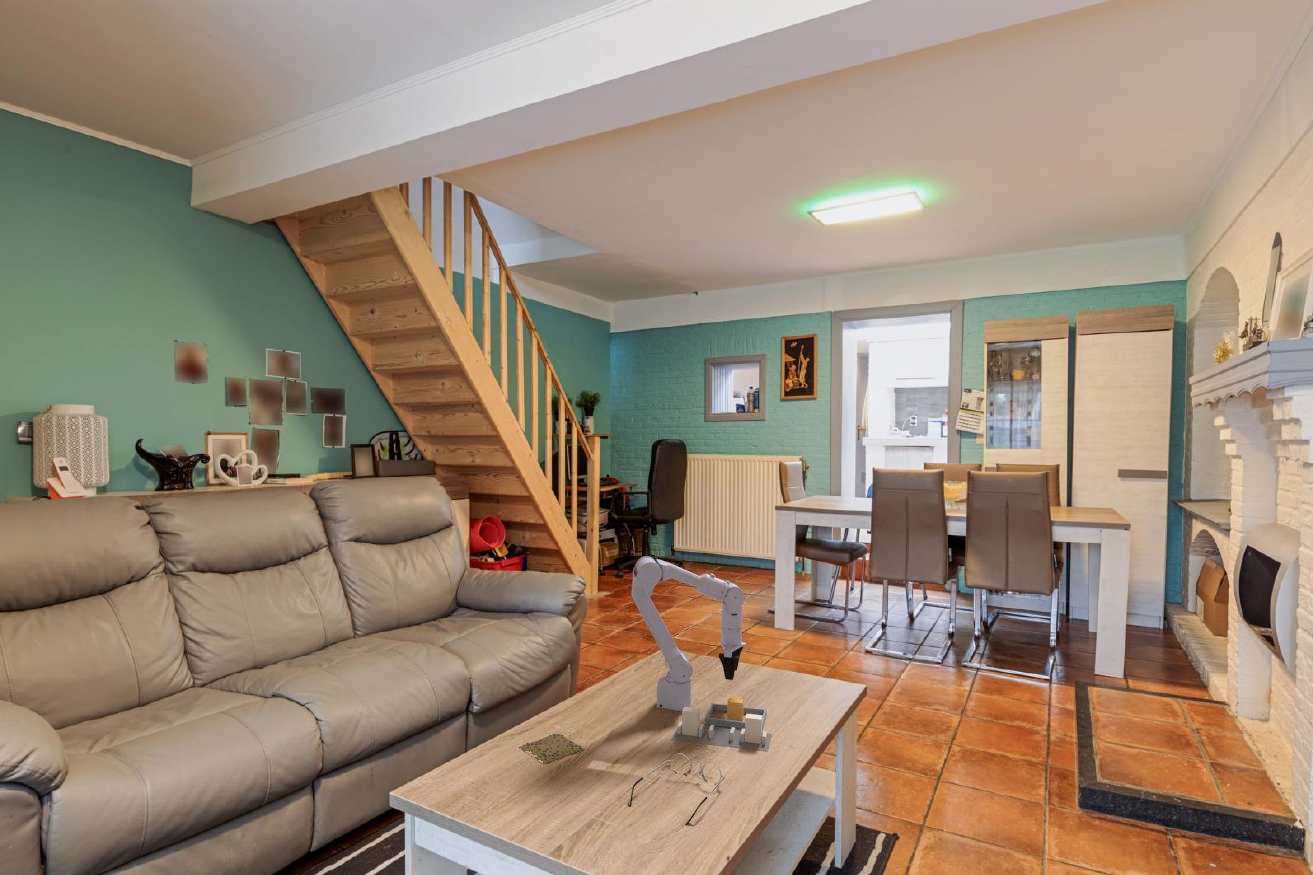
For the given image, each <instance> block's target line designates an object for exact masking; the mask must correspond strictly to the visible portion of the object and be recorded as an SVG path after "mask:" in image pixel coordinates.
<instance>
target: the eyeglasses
mask: <svg viewBox="0 0 1313 875" xmlns="http://www.w3.org/2000/svg"><path fill="white" fill-rule="evenodd" d="M676 755H681V756H684V757H685V758H686V759H687V760H688V763H689V766H688V767H689V768H688V771H687V773H685V774H683V776H685V777H686V776H687V777H688V775H690V772H692V769H693V766H694V762H695V763H696V762H697V763H699V766H700V767H699V768H700V769H699V770H698V773H699V775H700V776H701V777H702V779H703V781H704V782H705V783H709V781H708V780H707V779H706V777H705V775H704V767H705V765H707V764H708V763H711V764H713V765H715V766H716V767H717V768H718V770H719V776H720V777H719V780H718V781H717V782H716V783H714V784H713V785H714V788H713V789H711V791H710V792H709V794H708V795H707V796H705V797H704V799H703V800H702V801H701V802H700V803H699V805H698V806H697V807H696V809H695V811H694V812H693V814H692V815H691V816H690V818H689V819H688V820H687V821H686V823H685V824H684V825H685V826H686V825H689V824H690V822H691V820H692V819H694V818H693V817H694V816H695V814H696V813H697V812H698V810H699V808H700V807H701V806H702V805H703V804H704V803H705V802H706V801H707V800H708V798H709V796H710V795H711V794H712V793H713V792H714V791H715V790H716V789H717V787H719V785H720V784H721V783H722V781H724V780H725V778H726V776H725V775H723V774H722V771H721V768H720V767H719V765H718V764H717V763H715V762H714V761H706V762H705V763H704V764H703V765H702V764H701V761H700V760H694V761H693V760H692V761H691V762H690V759H689V758H688V756H687V755H685V754H684V753H680V752H679V753H678V752H677V753H675V754H674V755H673V756H672V757H671V758H670V759H667V760H665V761H664V762H662V763H661V764H660V765H658V766H657V767H655V768H654V769H653V770H651V771H650V772H648V773H647V774H646V775H645V776H642V777H640V778H639V779H638V780H636V781H635V782H634V784H633V786H632V790H631V794H630V802H629V807H632V806H633V805H632V804H633V796H634V789H635V787H636V786H637V785H638V783H640V782H641V781H643V780H644V778H646V777H647V776H649V775H651V774H652V773H654V772H655V771H657V770H659V769H660V768H662V767H663V766H664V765H666V764H667V763H670V766H672V765H673V759H674V757H676ZM673 772H674V774H675V775H677V774H678V772H676V770H673Z"/></svg>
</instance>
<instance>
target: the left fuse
mask: <svg viewBox="0 0 1313 875" xmlns="http://www.w3.org/2000/svg"><path fill="white" fill-rule="evenodd" d="M700 712H701V711H700V708H698V707H692V706H691V707H684V708H683V710H681V721H682V734H684V735H692V736H698V730H699V727H700V725H701V723H700V721H701V720H700V718H701V717H700V716H701V713H700Z"/></svg>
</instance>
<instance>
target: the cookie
mask: <svg viewBox="0 0 1313 875" xmlns="http://www.w3.org/2000/svg"><path fill="white" fill-rule="evenodd" d="M520 748H521V749H522V750H521V749H520ZM518 749H520V750H521V751H523V752H524V751H529V752H530V751H531V752H532V753H530V754H533V755H537V757H535V758H536V759H537V760H536V759H535V758H534V759H535V760H536V761H538V760H541V761H543V764H546V765H549V764H551V763H553V761H554V762H556V761H555V760H557V761H559V760H562V759H565V758H567V757H566V756H568V757H570V756H569V755H571V756H573V755H576V754H578V753H581V752H583V751H585V750H586V749H585V748H583V747H582V746H581V745H580V744H577V743H576V742H574V741H572V740H570V739H568V738H567V737H566V736H564V734H560V733H559V732H558V733H553V734H549V735H548V736H545V737H543V738H539V739H537V740H534V741H531V742H526V743H525V744H522V745H521V746H519V747H518ZM580 751H581V752H580ZM577 752H578V753H577ZM564 757H565V758H564ZM543 764H542V765H543Z"/></svg>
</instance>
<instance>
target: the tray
mask: <svg viewBox="0 0 1313 875" xmlns="http://www.w3.org/2000/svg"><path fill="white" fill-rule="evenodd" d="M714 711H719V712H720V711H721V712H727V704H721V703H710V706H709V707H708V710H707V712H706V714H705V717H704V725H708V726H709V725H710V726H711V725H714V726H720V727H729V728H732V727H734V728H735V729H742V728H743V729H745V721H734V720H727V719H725V718H724V719H723V718H715V717H711V716H712V714H713V712H714ZM746 714H754V715H763V720H762V732H764V727H765V723H766V719H767V708H760V707H759V708H757V707H751V706H749V707H748V706H744V715H746Z"/></svg>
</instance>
